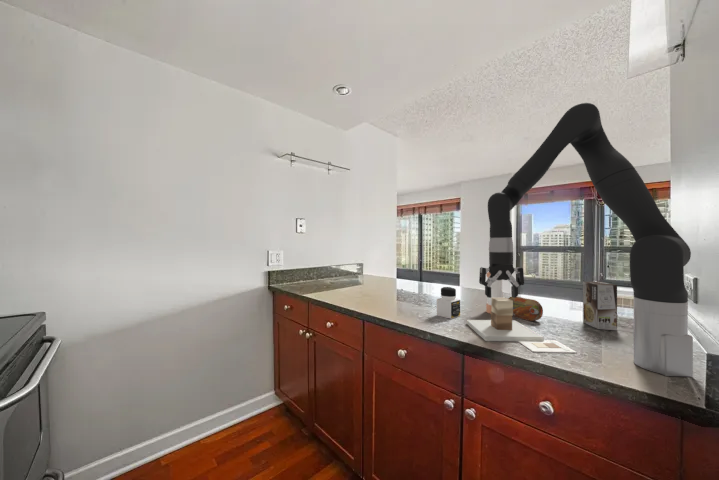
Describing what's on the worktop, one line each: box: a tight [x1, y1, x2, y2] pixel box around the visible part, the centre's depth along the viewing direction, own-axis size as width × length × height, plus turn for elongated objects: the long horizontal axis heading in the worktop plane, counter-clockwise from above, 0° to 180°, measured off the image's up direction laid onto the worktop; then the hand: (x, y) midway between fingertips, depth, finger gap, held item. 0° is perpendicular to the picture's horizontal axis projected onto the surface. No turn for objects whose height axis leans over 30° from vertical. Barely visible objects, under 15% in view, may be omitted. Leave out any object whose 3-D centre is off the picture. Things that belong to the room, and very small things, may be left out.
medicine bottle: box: [436, 286, 461, 320], centre depth 118 cm, size 7×7×12 cm
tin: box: [508, 296, 544, 322], centre depth 114 cm, size 15×3×8 cm, turn 21°
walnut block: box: [490, 311, 513, 330], centre depth 97 cm, size 5×5×5 cm
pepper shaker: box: [485, 271, 505, 315], centre depth 122 cm, size 7×7×19 cm
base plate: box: [466, 319, 545, 342], centre depth 97 cm, size 18×18×2 cm
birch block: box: [491, 297, 514, 317], centre depth 97 cm, size 5×5×5 cm
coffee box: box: [582, 280, 618, 331], centre depth 103 cm, size 9×6×16 cm
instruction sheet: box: [517, 339, 578, 354], centre depth 84 cm, size 9×12×1 cm
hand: (501, 297), depth 97 cm, fingers open, 8 cm apart
